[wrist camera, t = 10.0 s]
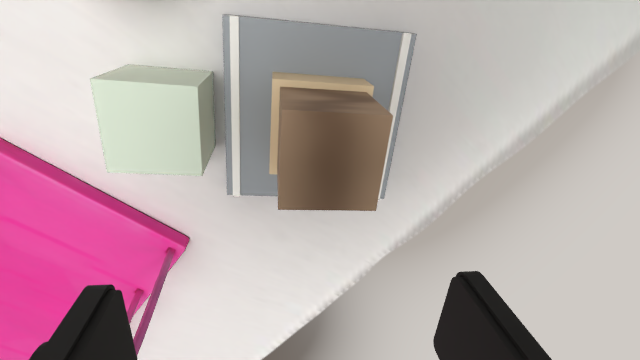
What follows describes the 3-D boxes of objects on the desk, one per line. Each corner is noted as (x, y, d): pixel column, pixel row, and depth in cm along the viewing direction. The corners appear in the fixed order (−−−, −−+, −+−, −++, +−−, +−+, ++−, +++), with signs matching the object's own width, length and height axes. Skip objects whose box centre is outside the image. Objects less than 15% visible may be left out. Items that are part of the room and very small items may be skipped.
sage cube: (212, 71, 26) (197, 86, 21) (215, 145, 29) (202, 175, 23) (128, 64, 25) (90, 78, 20) (139, 141, 28) (107, 172, 23)
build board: (410, 33, 27) (433, 36, 23) (380, 192, 33) (394, 215, 29) (224, 14, 24) (215, 15, 21) (228, 188, 31) (222, 213, 27)
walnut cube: (366, 92, 24) (393, 115, 19) (355, 170, 27) (375, 210, 21) (279, 86, 23) (281, 109, 18) (277, 168, 26) (278, 209, 20)
